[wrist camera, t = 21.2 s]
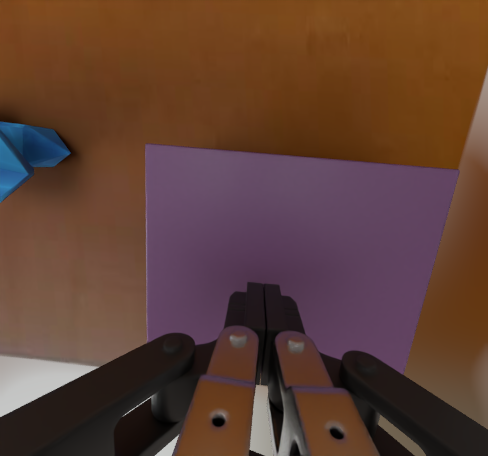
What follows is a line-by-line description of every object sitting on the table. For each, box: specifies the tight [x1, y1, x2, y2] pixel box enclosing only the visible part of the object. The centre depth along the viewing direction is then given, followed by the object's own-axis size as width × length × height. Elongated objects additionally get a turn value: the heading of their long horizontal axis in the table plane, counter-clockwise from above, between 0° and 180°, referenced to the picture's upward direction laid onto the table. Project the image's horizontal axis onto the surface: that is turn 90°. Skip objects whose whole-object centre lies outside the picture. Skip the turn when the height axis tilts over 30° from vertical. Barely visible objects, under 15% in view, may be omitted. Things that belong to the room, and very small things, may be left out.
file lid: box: [145, 143, 460, 375], centre depth 16 cm, size 16×14×1 cm
